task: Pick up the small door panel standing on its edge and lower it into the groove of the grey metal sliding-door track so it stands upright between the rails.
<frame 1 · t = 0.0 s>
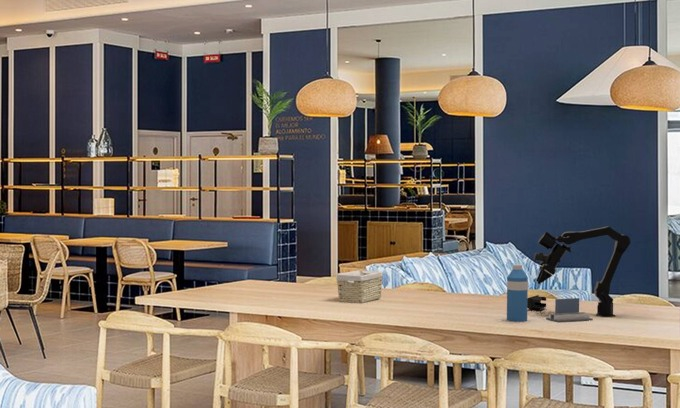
hand: (537, 282, 444), 15 cm above the table, tool tilted 35°, fingers open, 9 cm apart
door track: (569, 319, 426), on the table
door panel: (567, 315, 439), on the table
end cap: (535, 310, 459), on the table
water bottle: (517, 320, 424), on the table
storage basket: (359, 300, 493), on the table
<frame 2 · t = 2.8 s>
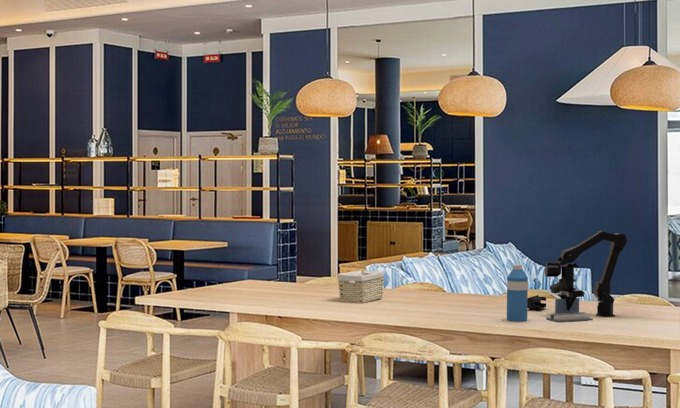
hand: (567, 310, 439), 3 cm above the table, tool pointing down, fingers closed on door panel, 2 cm apart
door panel: (567, 315, 439), on the table, touching gripper
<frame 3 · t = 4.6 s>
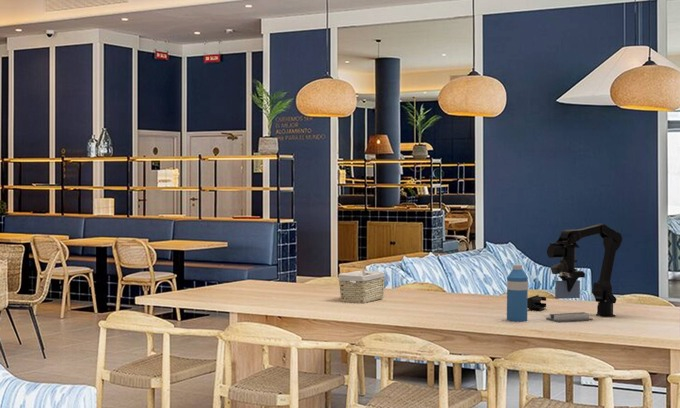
hand: (567, 291, 431), 12 cm above the table, tool pointing down, fingers closed on door panel
door panel: (567, 298, 431), point 9 cm above the table, touching gripper
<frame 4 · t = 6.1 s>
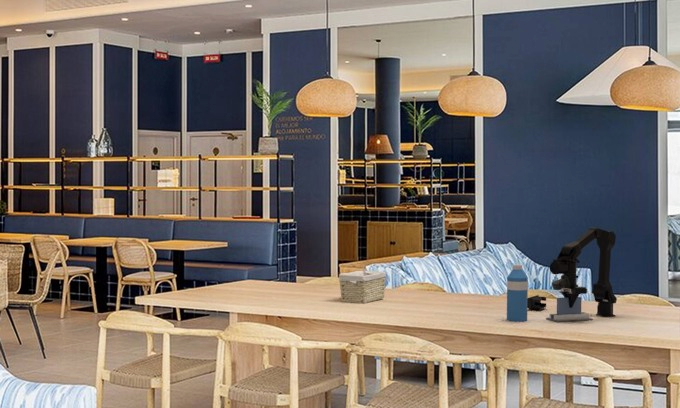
hand: (569, 307, 426), 6 cm above the table, tool pointing down, fingers closed on door panel, 2 cm apart
door panel: (569, 315, 426), point 2 cm above the table, touching gripper
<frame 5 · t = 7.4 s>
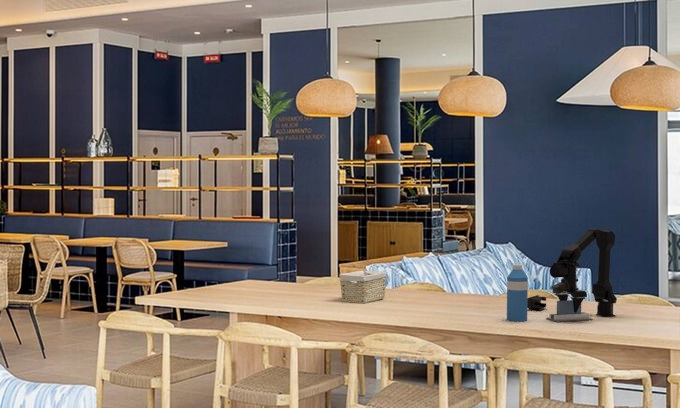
hand: (569, 311, 426), 4 cm above the table, tool pointing down, fingers open, 9 cm apart
door panel: (568, 318, 426), point 1 cm above the table, touching door track
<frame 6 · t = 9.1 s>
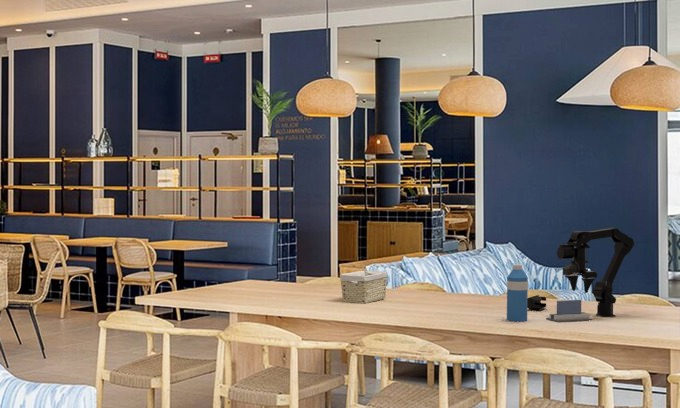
hand: (579, 291, 435), 12 cm above the table, tool pointing down, fingers open, 9 cm apart
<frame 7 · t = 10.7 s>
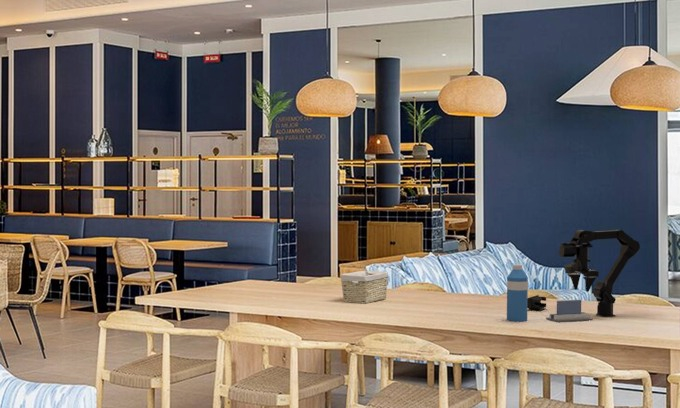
hand: (581, 290, 437), 12 cm above the table, tool pointing down, fingers open, 9 cm apart
at the end: door panel 0.2 cm off-centre on the door track, point 0.8 cm above the door track's base; door panel tilted 0°; the gripper is holding nothing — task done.
